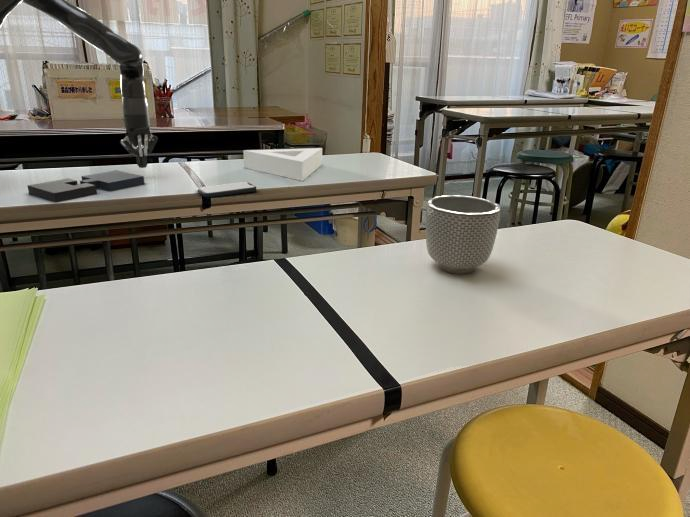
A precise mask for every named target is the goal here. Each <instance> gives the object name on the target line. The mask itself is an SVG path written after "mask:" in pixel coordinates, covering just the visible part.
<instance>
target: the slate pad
mask: <svg viewBox="0 0 690 517" xmlns="http://www.w3.org/2000/svg"><path fill="white" fill-rule="evenodd" d="M80 177H81V180H79V184H84V183H88V184H92V185H96V190H99V189H100V190H104V191H108V192H112V191H117V190H118V191H119V190H122V189H127V188H128V189H129V188H132V187H137V186H142V185H145V177H144V176H143V175H139V174H135V173H131V172H126V171H121V170H110V171H104V172H98V173H93V174H85V175H82V176H80Z"/></svg>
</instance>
